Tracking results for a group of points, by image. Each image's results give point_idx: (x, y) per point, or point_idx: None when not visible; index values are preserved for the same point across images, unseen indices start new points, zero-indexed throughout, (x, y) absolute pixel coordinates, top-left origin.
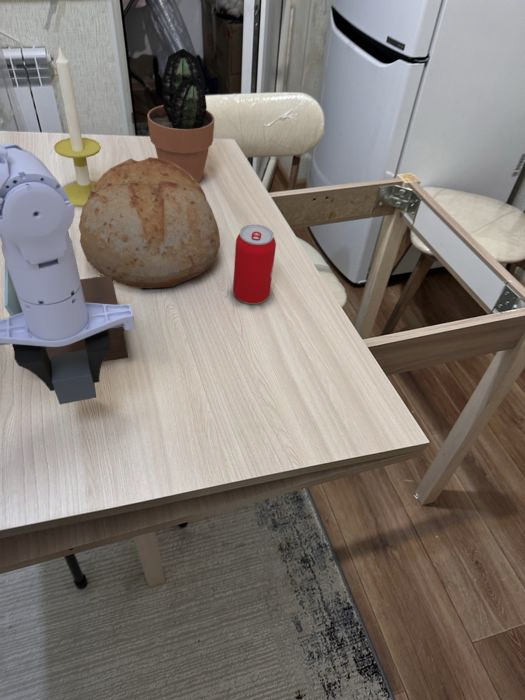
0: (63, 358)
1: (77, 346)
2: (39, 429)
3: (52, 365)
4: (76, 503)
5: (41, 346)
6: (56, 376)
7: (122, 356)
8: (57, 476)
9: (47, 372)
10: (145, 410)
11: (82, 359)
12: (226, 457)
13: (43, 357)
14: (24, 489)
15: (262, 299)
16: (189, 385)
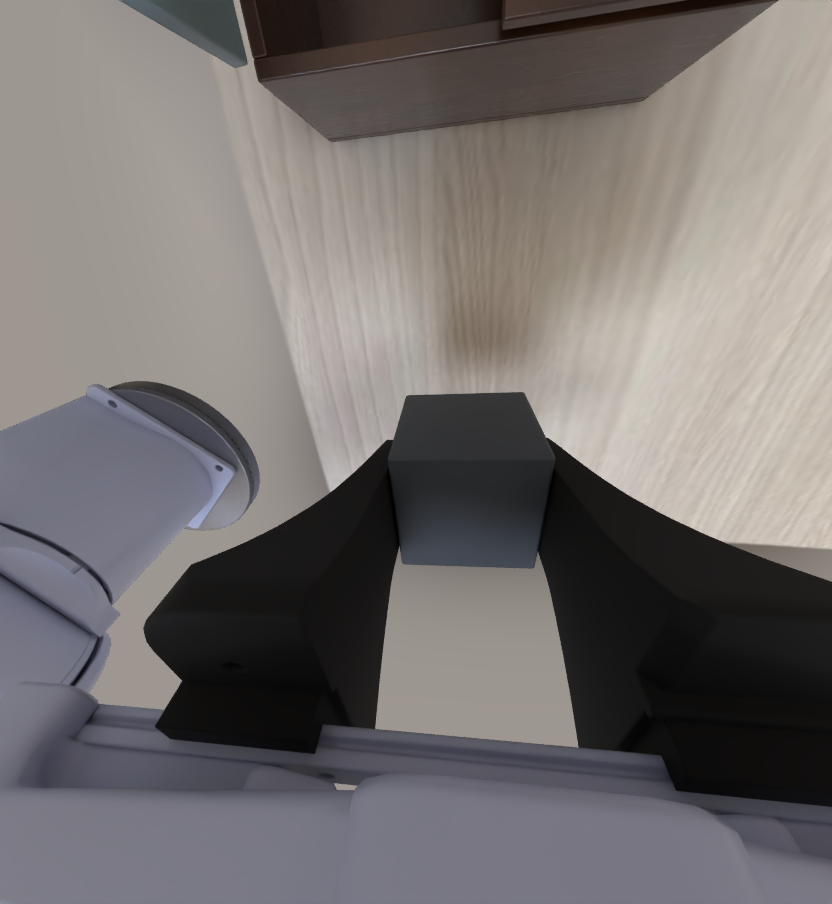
0: (442, 484)
1: (475, 83)
2: (360, 369)
3: (400, 509)
4: None
5: (359, 680)
6: (416, 552)
7: (627, 99)
8: None
9: (388, 596)
10: (600, 369)
11: (520, 507)
12: (698, 508)
13: (373, 659)
14: None
15: None
16: (764, 306)
